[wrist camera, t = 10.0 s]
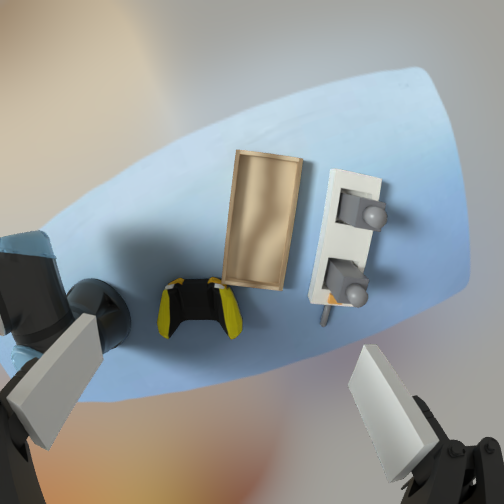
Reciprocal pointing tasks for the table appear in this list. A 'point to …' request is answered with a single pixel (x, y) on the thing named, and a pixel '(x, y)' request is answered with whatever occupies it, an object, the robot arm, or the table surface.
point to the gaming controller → (199, 305)
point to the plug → (361, 212)
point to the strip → (341, 234)
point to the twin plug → (346, 282)
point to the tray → (260, 219)
